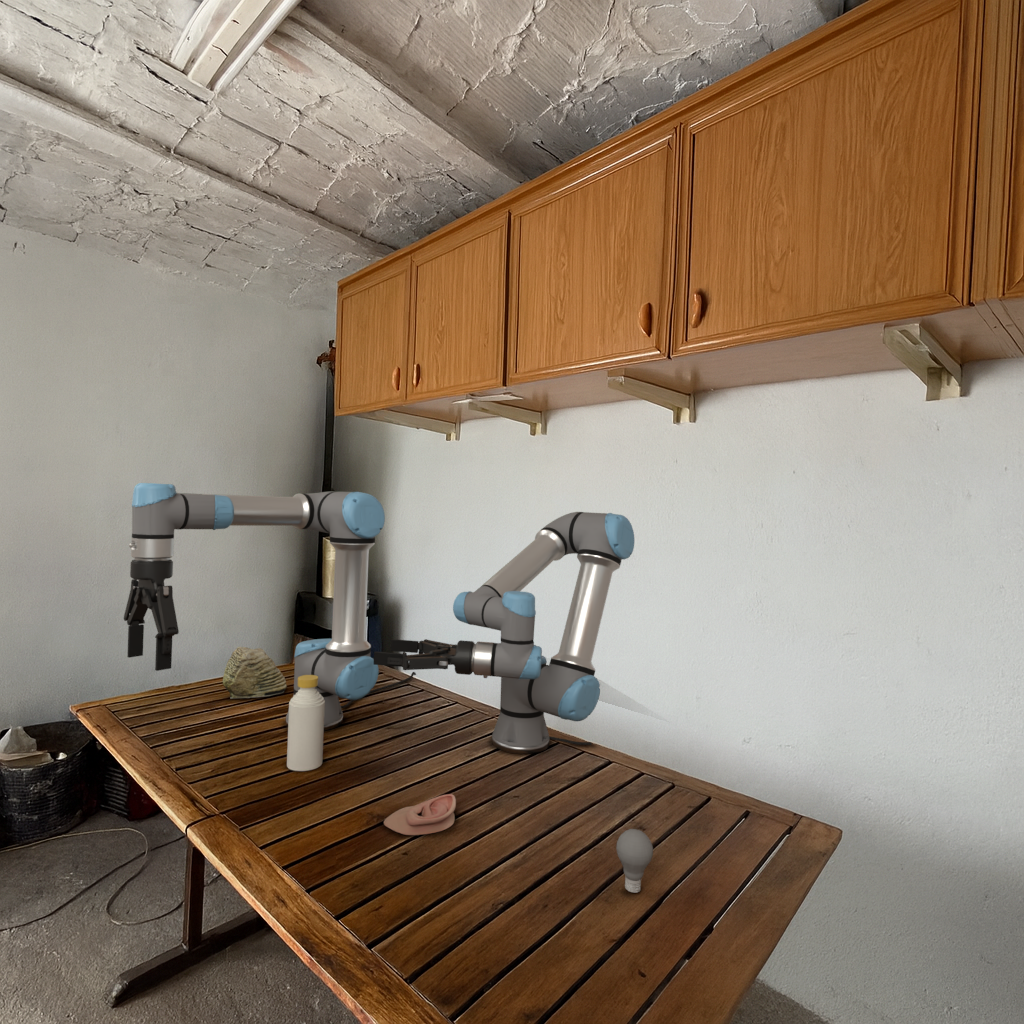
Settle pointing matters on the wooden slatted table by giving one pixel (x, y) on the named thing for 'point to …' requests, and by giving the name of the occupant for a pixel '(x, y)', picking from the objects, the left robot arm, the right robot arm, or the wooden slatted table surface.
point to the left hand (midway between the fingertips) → (148, 662)
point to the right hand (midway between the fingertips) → (383, 651)
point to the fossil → (252, 674)
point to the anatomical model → (424, 816)
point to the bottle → (305, 730)
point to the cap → (307, 681)
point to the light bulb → (634, 857)
